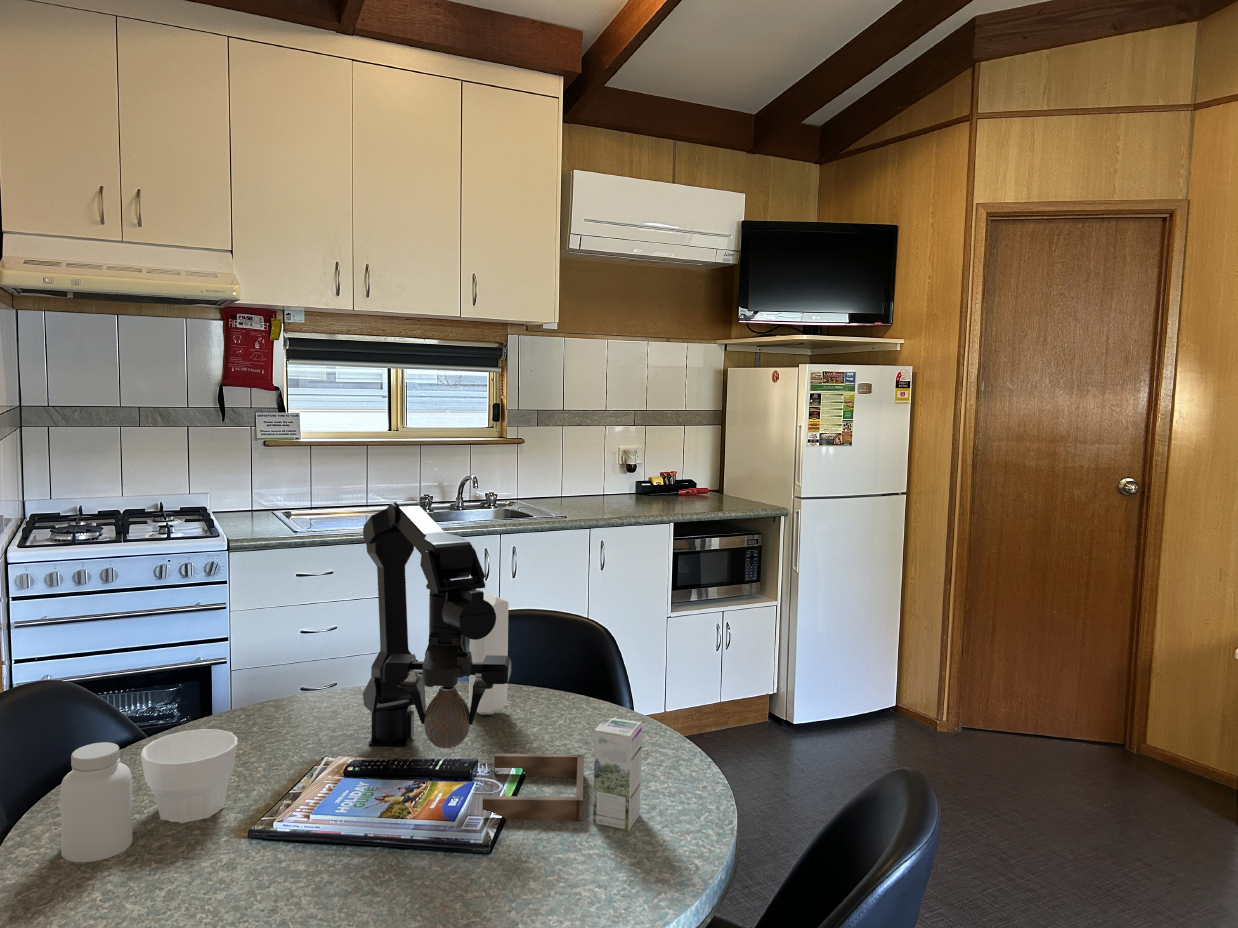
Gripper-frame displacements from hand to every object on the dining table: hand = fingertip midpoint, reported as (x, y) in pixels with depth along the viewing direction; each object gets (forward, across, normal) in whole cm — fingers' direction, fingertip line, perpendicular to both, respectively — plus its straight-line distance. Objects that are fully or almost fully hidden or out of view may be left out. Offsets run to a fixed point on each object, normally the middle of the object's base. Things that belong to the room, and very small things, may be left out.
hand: (447, 723), depth 132 cm
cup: (+12, -35, -8) cm, 38 cm away
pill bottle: (+12, -42, -19) cm, 48 cm away
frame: (+12, +14, 0) cm, 18 cm away
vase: (+3, 0, 0) cm, 3 cm away
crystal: (+12, +2, +34) cm, 36 cm away
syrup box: (+12, +26, -7) cm, 29 cm away
